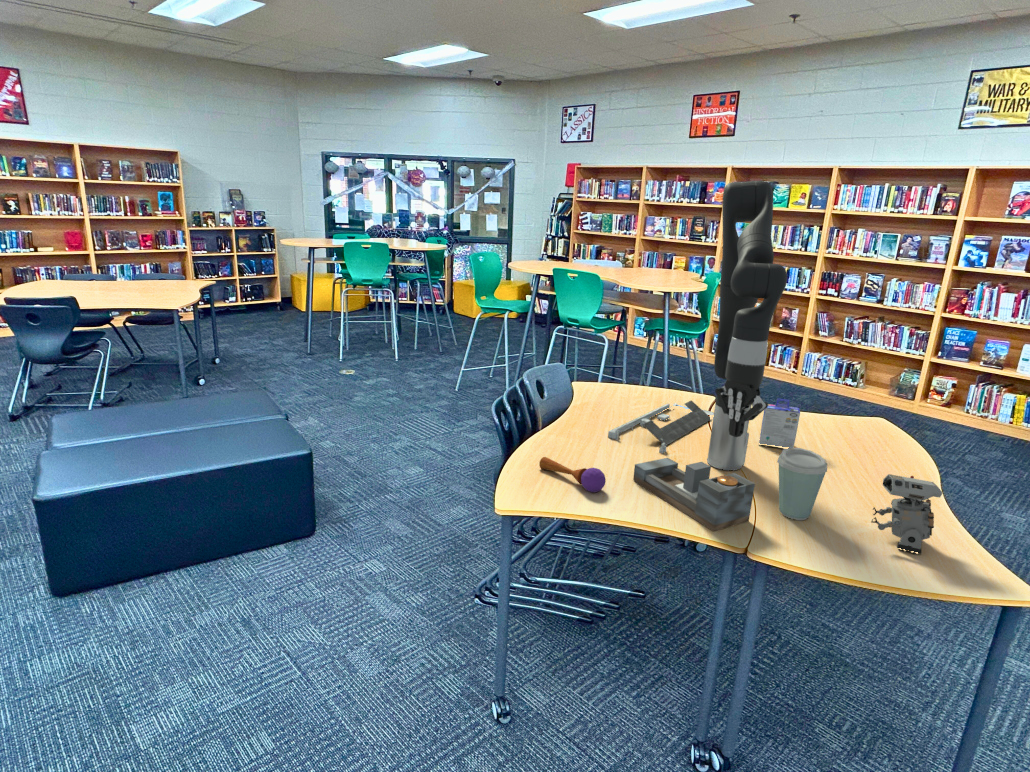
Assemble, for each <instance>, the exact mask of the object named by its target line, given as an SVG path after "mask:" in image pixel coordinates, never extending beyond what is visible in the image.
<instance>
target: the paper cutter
mask: <svg viewBox="0 0 1030 772" xmlns="http://www.w3.org/2000/svg"><path fill="white" fill-rule="evenodd" d="M672 405H673V406H680V407H683V408H685V409H690V410H691V411H692V412H690V413H686V414H685V415H683V416H681V417H679V418H678V419H677V418H676V419H675V420H673V421H672V422H669V423H668V424H665V425H664V426H662V427H659V426H658V425H657V424H656V423H655V422H654V420H651V418H650V417H652V416H654V415H656V414H658V413H660V412H662V411H663V410H665V409H667V408H669V409H670V403H666V404H664V405H662V406H659V407H657V408H654V409H653V410H651V411H649V412H647V413H644V414H642V415H640V416H639V417H635V418H634V419H632V420H629V421H628V422H624V424H621V425H619V426H617V427H615V428H612V429H611V430H608V431H607V432H608V433H607V437H608V438H609V439H612V440H616V441H617V440H619V435H620V434H622V433H623V432H626V431H628V430H629V429H631V431H633V430H634V428H635V427H636V426H638V425H639V426H640V427H642V426H643V428H645V429H646V430H647V431H649V433H650V434H651V435H652V436H654V437H655V438H656V439H657V441H659V442H660V443H661V444H660V447H659V448H658V449H659V452H658V453H660V454H664V453H666V452H667V445H669V444H671V443H673V442H674V441H676V440H678V439H680V438H681V437H683V436H684V435H687V434H688V433H690V432H692V431H694V430H695V429H697V428H699V427H700V426H702V425H704V424H706V423H707V422H709V421H711V420H710V417H709V416H708V415H714V411H713V412H712V411H710V410H707V409H702V408H701V407H699V406H698V405H697V404H696V403H695V402H694V401H693V400H689V401H687V402H685V403H684V406H683V405H680V404H678V403H676V402H675V403H673V404H672ZM654 417H655V416H654ZM656 417H657V418H656V420H657V419H661V420H664V421H663V422H666V421H667V420H666V419H668V418H669V419H670V415H668V414H666V413H663V412H662V413H660V414H658V415H656ZM649 418H650V419H649ZM652 418H653V417H652ZM669 419H668V420H669ZM661 420H660V421H661ZM665 420H666V421H665ZM639 423H640V424H639ZM637 424H638V425H637ZM635 425H636V426H635Z"/></svg>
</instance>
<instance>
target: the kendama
mask: <svg viewBox="0 0 1030 772" xmlns="http://www.w3.org/2000/svg"><path fill="white" fill-rule="evenodd" d="M539 468H540V469H542V470H547V471H551V472H556V473H560V474H561V473H562V474H567V475H571V476H572V477H573V479H575V481H576V482H577V483H578V484H579V485H581V486H582V487H583V488H584V489H585V490H586V491H587V492H589V493H597V492H600V491H601V490H602V489H603V488H605V485H606V481H607V480H606V476H605V473H603V471H602V470H601V469H599V468H596V467H588V468H586V467H585V468H579V469H574V470H573V469H570V468H569V467H567V466H566V465H563V464H561V463H558V462H557V461H555V460H553V459H552V458H551V459H550V458H549V457H547V456H542V457H541V458H540V460H539Z"/></svg>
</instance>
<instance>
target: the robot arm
mask: <svg viewBox="0 0 1030 772" xmlns="http://www.w3.org/2000/svg"><path fill="white" fill-rule="evenodd" d="M721 208H722V209H721V210H722V211H721V212H722V259H721V268H720V269H721V271H720V286H719V316H718V317H719V318H718V319H719V321H718V330H717V337H716V346H715V352H714V354H715V355H714V360H713V361H714V363H713V365H714V373H715V376H717V377H718V378H719V379H722V380H726V381H725V383H724V386H721V387H718V388H715V390H714V391H715V395H716V396H715V404H714V411H713V413H714V417H713V419H712V423H711V424H712V425H711V431H710V432H711V433H710V437H709V446H708V453H707V465H709V466H711V467H714V468H715V469H718V470H722V469H723V471H729V470H733V471H738V470H737V469H739V470H740V469H741V468H742V467H743V466H745V462H746V457H747V451H748V444H749V437H750V433H749V432H748V429H749V423H750V421H753V420H755V419H756V418H757V417H758V416H759V415H760V414H762V413H763V412H764V410H765V409H766V408H767V407H768V404H769V403H768V402H767V401H763V399H762V398H761V389H760V387H761V384H762V383H763V380H764V373H765V367H766V361H767V355H768V340H769V333H770V330H771V329H770V327H771V321H772V318H773V316H774V313H775V310H776V308H777V305H778V303H779V301H780V300H781V297H782V296H783V293H784V291H785V289H786V287H787V283H788V272H787V270H786V269H785V267H784V266H783V265H782V264H778V263H774V258H775V256H774V254H775V253H774V248H773V241H772V231H773V230H772V229H773V217H774V216H773V215H774V192H773V187H772V184H771V183H770V182H769V181H765V180H752V181H750V180H749V181H737V182H735V181H734V182H729V183H727V184H726V185H725V186H724V189H723V193H722V206H721ZM747 222H750V223H749V224H748V225H747V226H745V228H744V229H742V232H741V233H740V235H739V234H738V231H737V230H738V229H737V227H736V226H737V223H747ZM759 299H762V301H761V302H760V303H759V304H758V305H757V306H756V304H757V303H758V301H759ZM742 465H743V466H742Z"/></svg>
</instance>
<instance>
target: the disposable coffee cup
mask: <svg viewBox="0 0 1030 772" xmlns="http://www.w3.org/2000/svg"><path fill="white" fill-rule="evenodd" d="M781 450H782V451H781V453H780V454H779V456H778V459H777V461H776V463H777V464H778V506H779V507H778V509H779V513H780V512H781V513H782V514H783V515H784V516H783V515H782V514H781V513H780V514H781V515H782V516H783V517H785V516H786V517H785V518H787V517H788V519H789V518H791V519H790V520H793V519H796V520H795V521H806V520H808V519H809V517H811V514H812V511H813V508H814V505H815V503H816V500H817V497H818V495H819V491H820V489H821V486H822V483H823V481H824V477H825V475H826V473H827V472H828V463H827V461H826V459H824V458H823V457H822V455H820V454H819V453H816V452H814V451H812V450H808V449H805V448H800V447H794V448H788V449H781ZM807 518H808V519H807Z"/></svg>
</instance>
